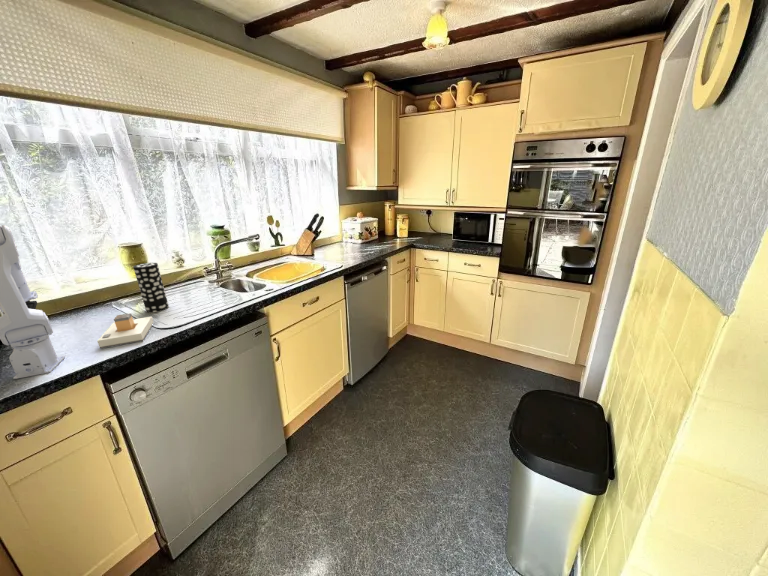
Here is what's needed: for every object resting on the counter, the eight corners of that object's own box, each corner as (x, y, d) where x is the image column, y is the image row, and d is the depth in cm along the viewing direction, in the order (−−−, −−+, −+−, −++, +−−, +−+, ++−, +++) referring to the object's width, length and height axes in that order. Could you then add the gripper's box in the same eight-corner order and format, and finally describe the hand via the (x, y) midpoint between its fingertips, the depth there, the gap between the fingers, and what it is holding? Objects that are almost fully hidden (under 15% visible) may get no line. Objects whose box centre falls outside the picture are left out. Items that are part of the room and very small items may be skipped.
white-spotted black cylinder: (143, 313, 131) (130, 268, 125) (149, 306, 139) (137, 263, 132) (166, 310, 134) (154, 266, 128) (170, 304, 142) (159, 261, 135)
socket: (143, 341, 108) (140, 332, 107) (100, 348, 103) (96, 339, 102) (153, 323, 122) (151, 315, 121) (115, 329, 117) (113, 321, 116)
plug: (133, 334, 111) (128, 317, 109) (119, 337, 110) (113, 319, 107) (136, 330, 115) (131, 313, 112) (123, 332, 113) (117, 315, 111)
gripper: (16, 289, 91) (34, 331, 95) (43, 277, 103) (57, 314, 108) (-18, 293, 88) (2, 335, 93) (14, 280, 101) (30, 318, 105)
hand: (30, 324), depth 100 cm, fingers closed
